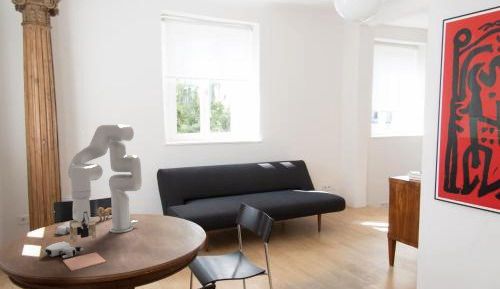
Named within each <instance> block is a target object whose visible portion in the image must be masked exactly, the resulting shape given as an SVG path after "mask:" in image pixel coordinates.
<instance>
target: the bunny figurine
mask: <svg viewBox="0 0 500 289" xmlns="http://www.w3.org/2000/svg"><path fill="white" fill-rule="evenodd" d="M68 233H70V223H69V221H65V222H63V223H62V224H61V225H59V226H56V229H55V234H56V235H63V236H65V235H67V234H68Z"/></svg>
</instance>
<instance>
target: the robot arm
mask: <svg viewBox="0 0 500 289" xmlns="http://www.w3.org/2000/svg"><path fill="white" fill-rule="evenodd" d="M134 135H135V133H134V129H133V126H131V125H129V124H126V125H125V124H101V125H99V126H98V127H97V128H96V129H95V131H94V133H93V136H92V137H91V138H92V139H91V141H90V143H89V145H88V146H86V147H84V148H83V149H82V150H80V151H79V152H77V153H76V154H75V155H74V156H73V158H72V160H71V161H70V164H69V166H68V171H67V174H68V178H69V179H70V182H71V184H70V185H71V186H70V187H71V200H72V219H73V220H75V221H77V222H81V227H76V228H77V236H80V238H81V239H83V238H84V239H85V238H88V237H90V236H89V225H88V224H89V220H90V217H91V205H90V204H91V203H90V198H92V194H91V193H92V191H91V181H98V180H99V179H100V178H102V176H103V171H104V170H103V167H102V166H101V165H100V164H98V163H88V162H91V161H93V160H96V159H98V158H101V157H103V156H105V155H106V154H107V153H108V150H109V162H110V164H109V165H110V169H111V171H112V172H114V173H118V174H113V175H111V176H110V177H109V179H108V187H109V191H110V198H111V200H110V201H111V208H112V214H111V225H112V226H111V227H109V232H110V233H113V234H117V233H118V234H119V233H120V234H122V233H126V232H130V231H132V230H133V229H134V225H138V224H139V223H140V221H139V220H131V215H130V214H131V211H130V210H131V208H130V197H129V194H128V193H127V192H137V191H140V190H141V188H142V186H143V185H142V184H143V183H142V182H143V181H142V166H141V159H140V158H139V156H138V155H135V154H127V148H126V144H125V143H124V142H131V141H132V140H133V138H134ZM82 220H84V221H82ZM83 223H84V224H83Z"/></svg>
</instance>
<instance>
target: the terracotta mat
mask: <svg viewBox="0 0 500 289" xmlns="http://www.w3.org/2000/svg"><path fill="white" fill-rule="evenodd" d="M62 262H63V263H64V264H65V266H66V267H67V268H68V269H69V270H70V271H71V272H73V271H74V272H75V271H78V270H80V269H81V270H82V269H85V268H86V269H87V268H89V267H92V266H96V265H97V266H98V265H100V264H103V263H107V261H106V259H104V258H103V257H102V256H101V255H100V254H98V253H97V252H92V253H87V254H81V255H79V256H74V257H71V258H70V257H69V258H65V259H63V260H62Z"/></svg>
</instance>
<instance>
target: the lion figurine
mask: <svg viewBox="0 0 500 289" xmlns="http://www.w3.org/2000/svg"><path fill="white" fill-rule="evenodd" d="M96 213H97V216H98V217H99V222H102V221H103V222H106V219H109V218H110V214H111V215H112V207H107V208H106V209H104V207H98V208H97V210H96ZM102 217H103V219H102Z"/></svg>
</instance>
